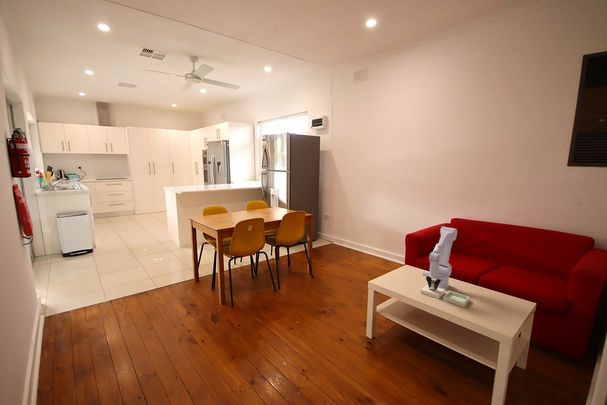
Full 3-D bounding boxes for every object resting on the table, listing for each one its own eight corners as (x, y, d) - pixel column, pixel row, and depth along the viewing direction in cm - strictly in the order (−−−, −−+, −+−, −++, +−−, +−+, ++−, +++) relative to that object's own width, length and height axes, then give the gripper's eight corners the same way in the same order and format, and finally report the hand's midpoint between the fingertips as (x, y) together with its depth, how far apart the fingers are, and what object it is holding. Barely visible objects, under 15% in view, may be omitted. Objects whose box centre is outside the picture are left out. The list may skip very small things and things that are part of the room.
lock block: (426, 287, 200) (427, 284, 199) (444, 292, 191) (444, 289, 191) (420, 292, 191) (420, 289, 191) (438, 298, 183) (438, 295, 182)
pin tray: (448, 294, 190) (449, 290, 189) (469, 300, 181) (469, 296, 181) (442, 300, 181) (443, 296, 180) (464, 307, 172) (464, 303, 172)
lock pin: (430, 291, 194) (431, 279, 193) (436, 292, 191) (437, 281, 190) (428, 292, 191) (429, 281, 190) (434, 294, 188) (435, 283, 187)
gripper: (421, 268, 191) (420, 286, 193) (443, 274, 181) (442, 293, 183) (425, 265, 196) (423, 283, 198) (447, 271, 186) (445, 290, 188)
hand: (432, 288), depth 191 cm, fingers closed on lock pin, 4 cm apart
